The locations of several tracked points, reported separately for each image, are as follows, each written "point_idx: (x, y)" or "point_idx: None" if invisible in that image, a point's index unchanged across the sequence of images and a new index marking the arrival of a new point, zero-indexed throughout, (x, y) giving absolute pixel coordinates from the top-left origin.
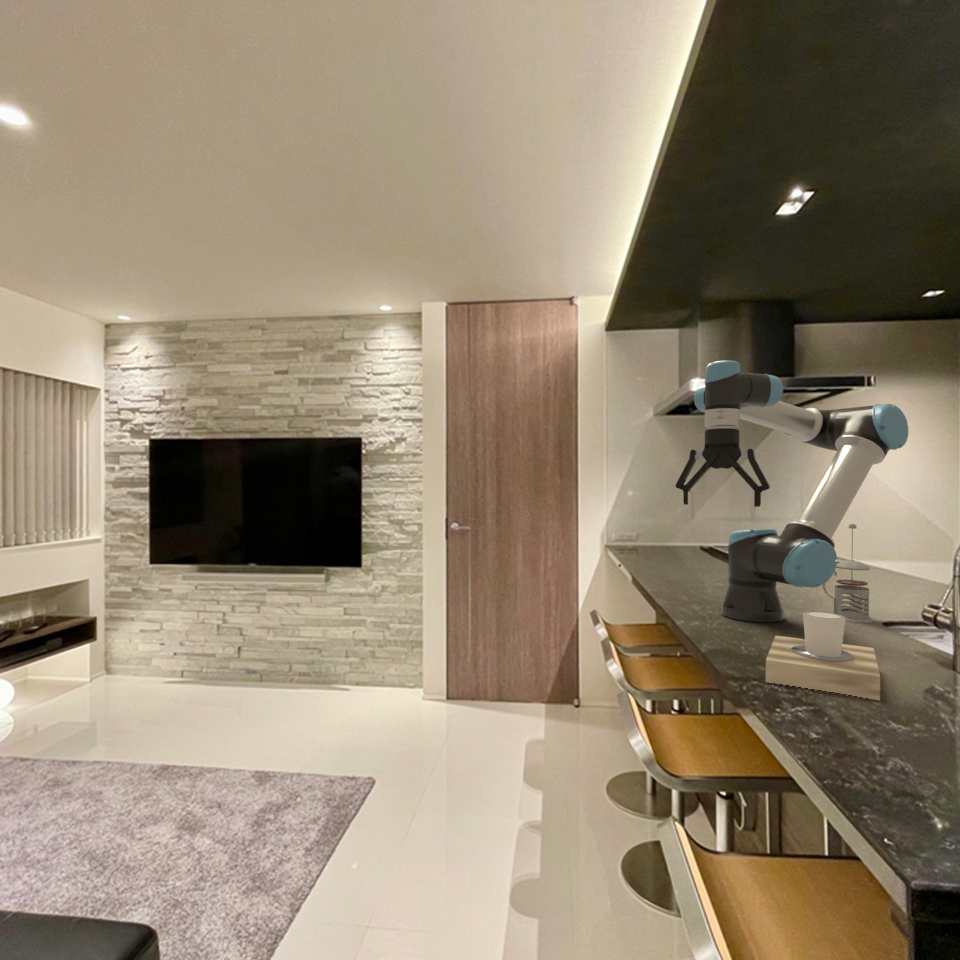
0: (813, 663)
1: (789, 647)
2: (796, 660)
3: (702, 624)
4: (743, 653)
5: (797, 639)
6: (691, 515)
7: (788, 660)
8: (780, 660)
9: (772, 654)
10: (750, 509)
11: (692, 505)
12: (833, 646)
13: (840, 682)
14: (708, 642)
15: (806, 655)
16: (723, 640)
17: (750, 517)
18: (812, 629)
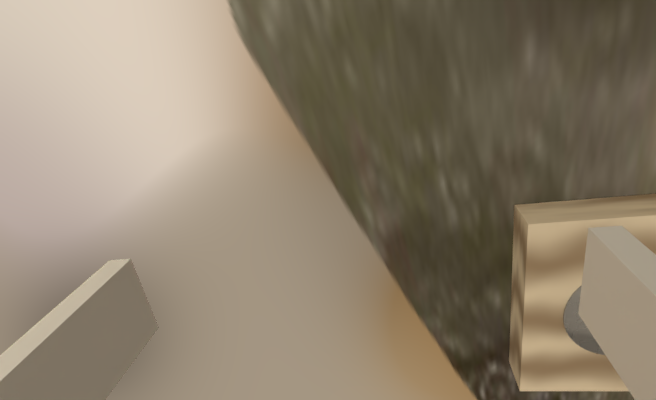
0: (598, 376)
1: (559, 304)
2: (570, 374)
3: (294, 5)
4: (452, 229)
5: (578, 231)
6: (140, 333)
7: (556, 379)
8: (543, 385)
9: (528, 361)
10: (634, 397)
11: (73, 368)
12: None
13: None
14: (369, 189)
15: (590, 347)
16: (392, 151)
17: (595, 336)
18: None
